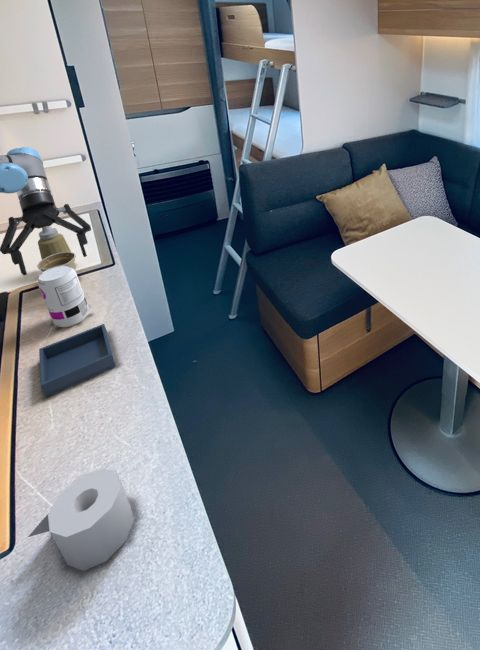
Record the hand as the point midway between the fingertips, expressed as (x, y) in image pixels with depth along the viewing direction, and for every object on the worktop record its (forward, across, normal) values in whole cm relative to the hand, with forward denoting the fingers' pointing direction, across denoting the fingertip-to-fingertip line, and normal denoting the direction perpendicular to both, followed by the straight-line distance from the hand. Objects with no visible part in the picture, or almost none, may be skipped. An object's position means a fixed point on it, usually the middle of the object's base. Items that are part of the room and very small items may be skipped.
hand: (55, 264), depth 112 cm
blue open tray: (+29, 0, +10) cm, 31 cm away
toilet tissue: (+60, +2, +40) cm, 72 cm away
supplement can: (+15, 0, -5) cm, 16 cm away
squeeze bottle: (-6, +1, -26) cm, 27 cm away
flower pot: (0, 0, -19) cm, 19 cm away
